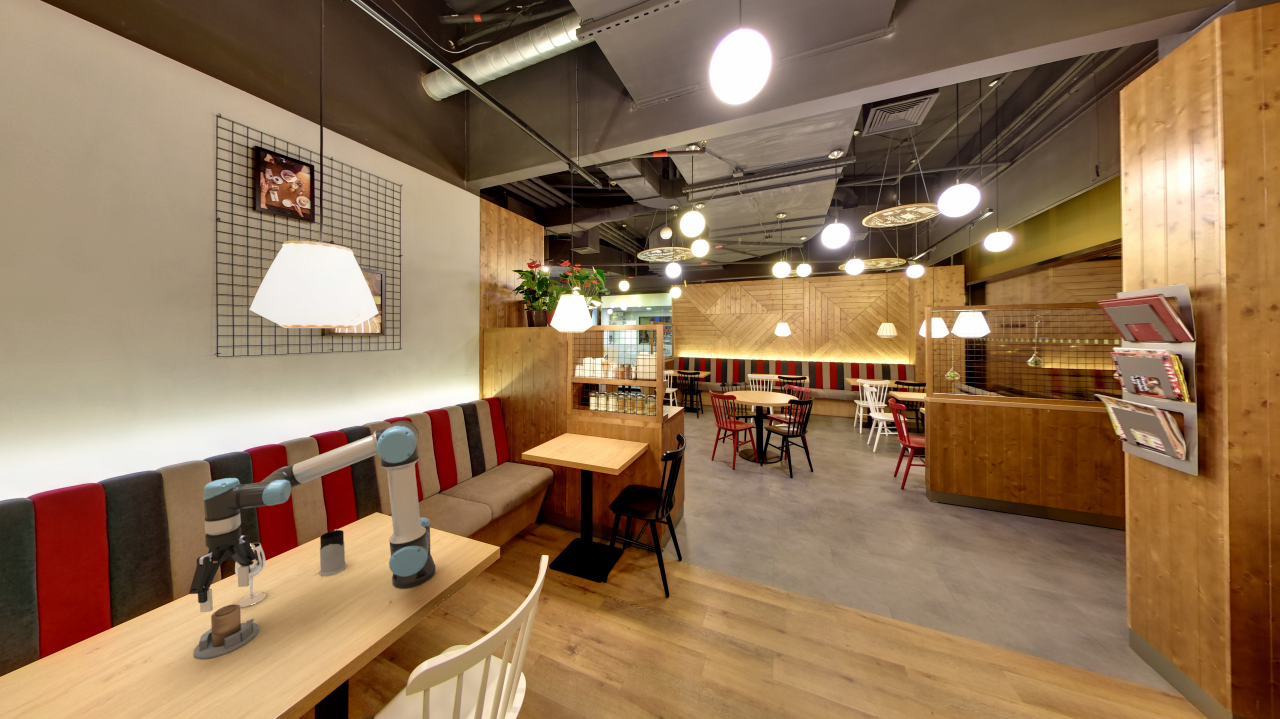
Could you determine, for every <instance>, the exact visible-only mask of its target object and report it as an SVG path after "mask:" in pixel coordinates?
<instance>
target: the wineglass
mask: <svg viewBox="0 0 1280 719" xmlns="http://www.w3.org/2000/svg"><path fill="white" fill-rule="evenodd" d="M250 545H251V547H252V549H253V552H254V554H255V556H256V559H255V560H252V561H254V563H253V564H252V565H250V573H249V595H247V596H245V597H243V598H241V599H239V601H238V602H236V605H240V608H245V607H249V606H253V605H255V604H258V603H259V602H261V601H263V600H264V599H265V598H266V597H267V593H265V592H257V593H254V590H253V589H254V588H253V587H254V586H253V584H254V583H253V581H254V577H257V576H258V575H260V573H261V572H262V571H263V570H264V568H265V566H266V557H265V556H266V555H265V552H264V550H263V547H262V544H261V542H252V543H250ZM234 564H235V566H234V572H235V575H236V576H237V577H238V567H239V566H242V565H239V564H238V563H237V562H236V561H235V563H234Z"/></svg>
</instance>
